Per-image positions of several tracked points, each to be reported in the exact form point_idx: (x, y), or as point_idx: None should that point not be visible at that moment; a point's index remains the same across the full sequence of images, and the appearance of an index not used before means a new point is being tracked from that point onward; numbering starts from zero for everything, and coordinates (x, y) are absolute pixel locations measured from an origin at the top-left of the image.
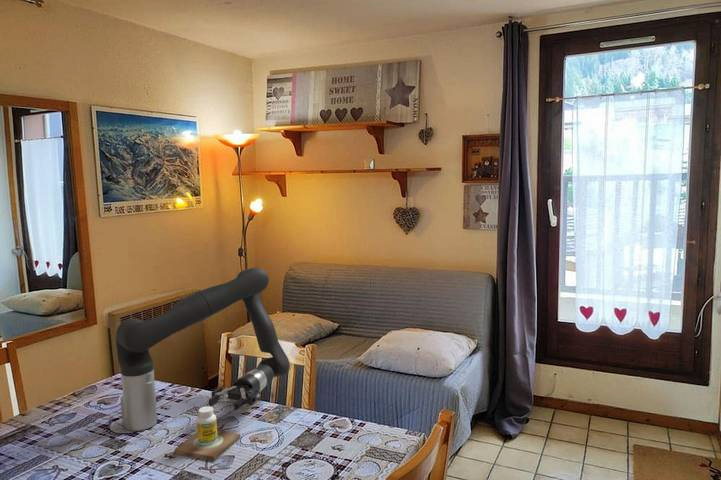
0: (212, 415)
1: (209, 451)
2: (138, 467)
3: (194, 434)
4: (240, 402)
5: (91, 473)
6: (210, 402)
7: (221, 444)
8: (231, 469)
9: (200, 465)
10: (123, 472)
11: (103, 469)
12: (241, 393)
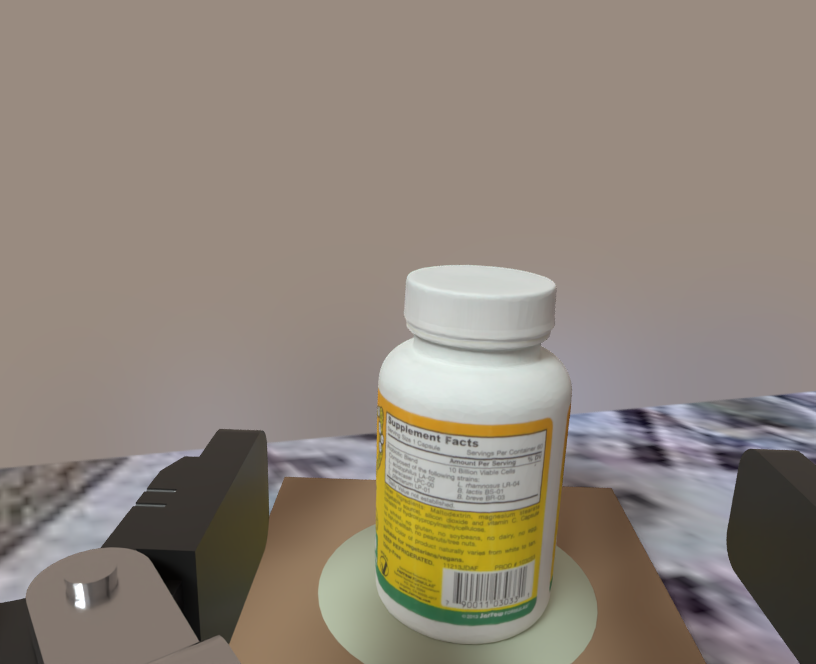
0: (417, 352)
1: (352, 504)
2: (653, 429)
3: (695, 651)
4: (152, 500)
5: (783, 394)
6: (745, 482)
7: (307, 575)
8: (141, 473)
9: (350, 472)
10: (672, 408)
11: (777, 409)
12: (207, 640)
